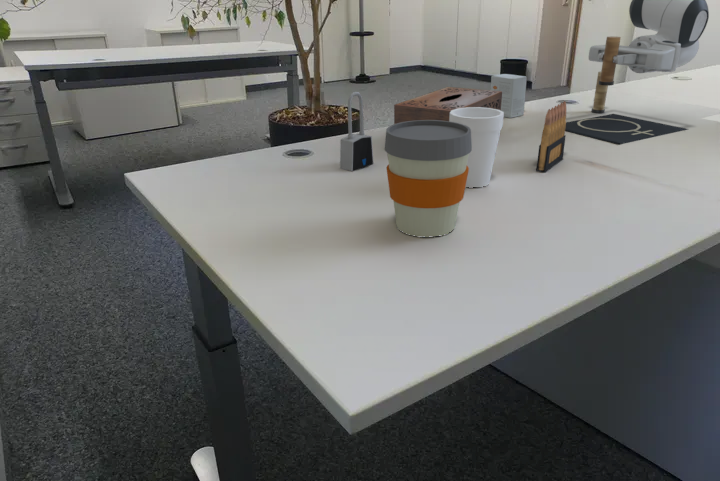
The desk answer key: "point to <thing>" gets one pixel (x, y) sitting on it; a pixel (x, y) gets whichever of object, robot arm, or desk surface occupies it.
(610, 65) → the beech stamp
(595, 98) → the birch stamp
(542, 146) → the ammunition clip
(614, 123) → the desk pad
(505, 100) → the small box
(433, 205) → the reusable coffee cup
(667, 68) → the robot arm
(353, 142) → the padlock
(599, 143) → the desk surface
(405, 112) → the tissue box cover
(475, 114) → the foam cup
